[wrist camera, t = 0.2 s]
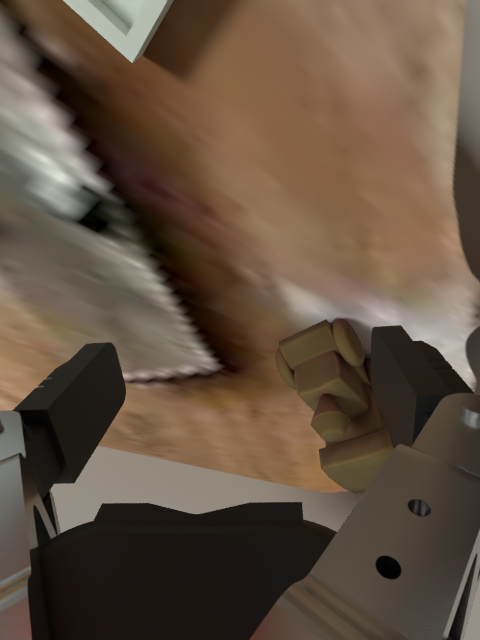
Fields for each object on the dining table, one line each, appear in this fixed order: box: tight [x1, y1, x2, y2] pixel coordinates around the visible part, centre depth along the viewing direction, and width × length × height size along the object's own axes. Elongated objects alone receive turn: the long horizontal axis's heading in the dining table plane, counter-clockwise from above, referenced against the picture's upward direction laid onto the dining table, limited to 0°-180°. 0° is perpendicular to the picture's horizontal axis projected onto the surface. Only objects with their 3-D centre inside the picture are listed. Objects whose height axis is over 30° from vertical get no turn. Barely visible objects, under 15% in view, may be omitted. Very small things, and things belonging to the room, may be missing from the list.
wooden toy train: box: [276, 319, 396, 493], centre depth 52 cm, size 20×11×17 cm, turn 38°
